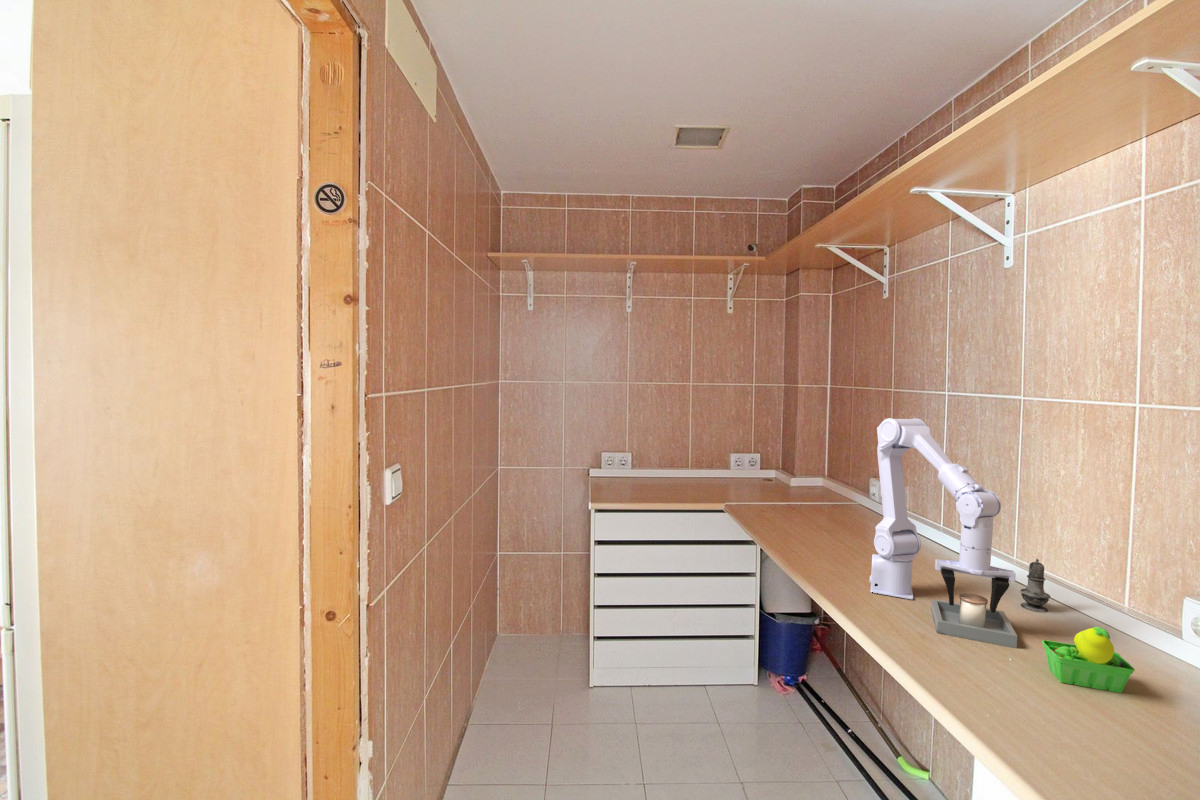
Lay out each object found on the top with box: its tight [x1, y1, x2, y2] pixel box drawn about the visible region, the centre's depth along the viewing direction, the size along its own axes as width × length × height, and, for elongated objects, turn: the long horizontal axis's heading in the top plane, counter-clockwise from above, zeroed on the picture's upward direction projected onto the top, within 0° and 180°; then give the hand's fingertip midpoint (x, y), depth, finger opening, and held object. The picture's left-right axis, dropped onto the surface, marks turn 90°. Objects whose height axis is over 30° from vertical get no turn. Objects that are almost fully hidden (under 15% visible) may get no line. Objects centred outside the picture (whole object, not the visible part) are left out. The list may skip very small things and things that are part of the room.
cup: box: [958, 592, 989, 628], centre depth 126 cm, size 5×5×6 cm
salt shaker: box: [1019, 558, 1051, 613], centre depth 137 cm, size 6×6×12 cm
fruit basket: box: [1041, 626, 1135, 694], centre depth 103 cm, size 11×9×11 cm
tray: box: [930, 598, 1018, 649], centre depth 125 cm, size 14×14×2 cm
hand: (971, 607), depth 125 cm, fingers open, 7 cm apart
